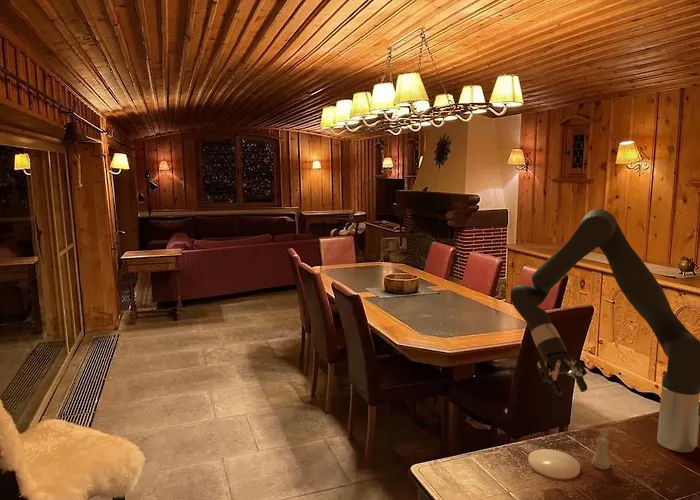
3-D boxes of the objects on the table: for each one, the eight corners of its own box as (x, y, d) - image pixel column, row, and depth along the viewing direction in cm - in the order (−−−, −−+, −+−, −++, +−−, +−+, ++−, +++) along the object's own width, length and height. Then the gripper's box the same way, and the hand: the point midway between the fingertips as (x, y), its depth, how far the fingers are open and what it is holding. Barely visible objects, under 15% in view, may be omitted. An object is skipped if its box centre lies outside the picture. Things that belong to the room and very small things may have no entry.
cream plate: (557, 449, 144) (557, 446, 144) (591, 474, 132) (591, 470, 132) (518, 456, 141) (518, 453, 140) (550, 483, 128) (550, 479, 128)
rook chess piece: (612, 471, 134) (614, 442, 132) (594, 469, 134) (596, 441, 133) (607, 462, 138) (609, 434, 137) (589, 460, 139) (591, 433, 138)
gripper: (534, 338, 149) (559, 390, 140) (574, 334, 153) (600, 384, 144) (522, 349, 155) (545, 400, 146) (560, 345, 159) (585, 394, 150)
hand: (572, 392), depth 145 cm, fingers open, 8 cm apart
